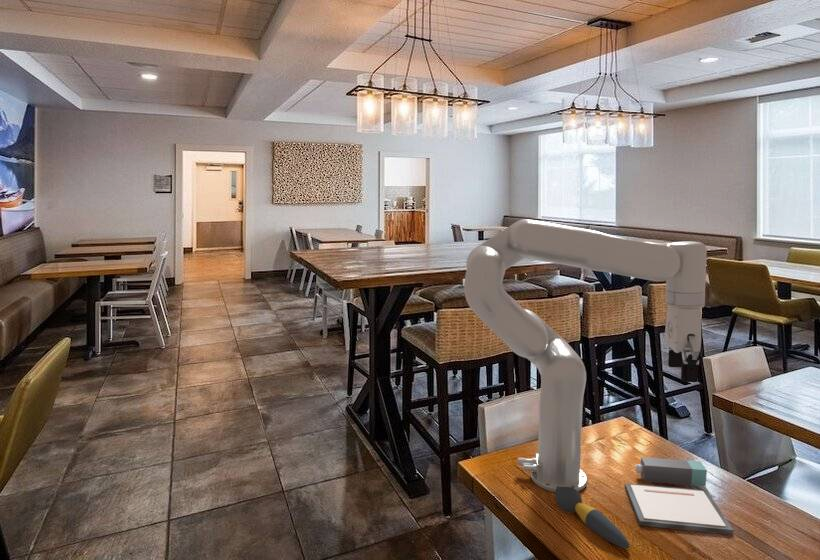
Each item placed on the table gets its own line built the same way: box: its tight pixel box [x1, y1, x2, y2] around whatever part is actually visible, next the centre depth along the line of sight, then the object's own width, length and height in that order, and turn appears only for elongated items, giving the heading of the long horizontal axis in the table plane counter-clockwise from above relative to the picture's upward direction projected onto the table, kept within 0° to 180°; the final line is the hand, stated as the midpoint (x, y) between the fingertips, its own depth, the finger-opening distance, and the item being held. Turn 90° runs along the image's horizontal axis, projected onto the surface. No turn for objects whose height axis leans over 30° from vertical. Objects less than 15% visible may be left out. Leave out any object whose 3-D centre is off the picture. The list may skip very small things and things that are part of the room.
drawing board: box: [624, 482, 734, 535], centre depth 108 cm, size 17×14×1 cm
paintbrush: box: [554, 486, 631, 549], centre depth 104 cm, size 20×5×5 cm, turn 32°
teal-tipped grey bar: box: [634, 456, 708, 487], centre depth 119 cm, size 14×4×4 cm, turn 79°
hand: (682, 373), depth 114 cm, fingers open, 9 cm apart
